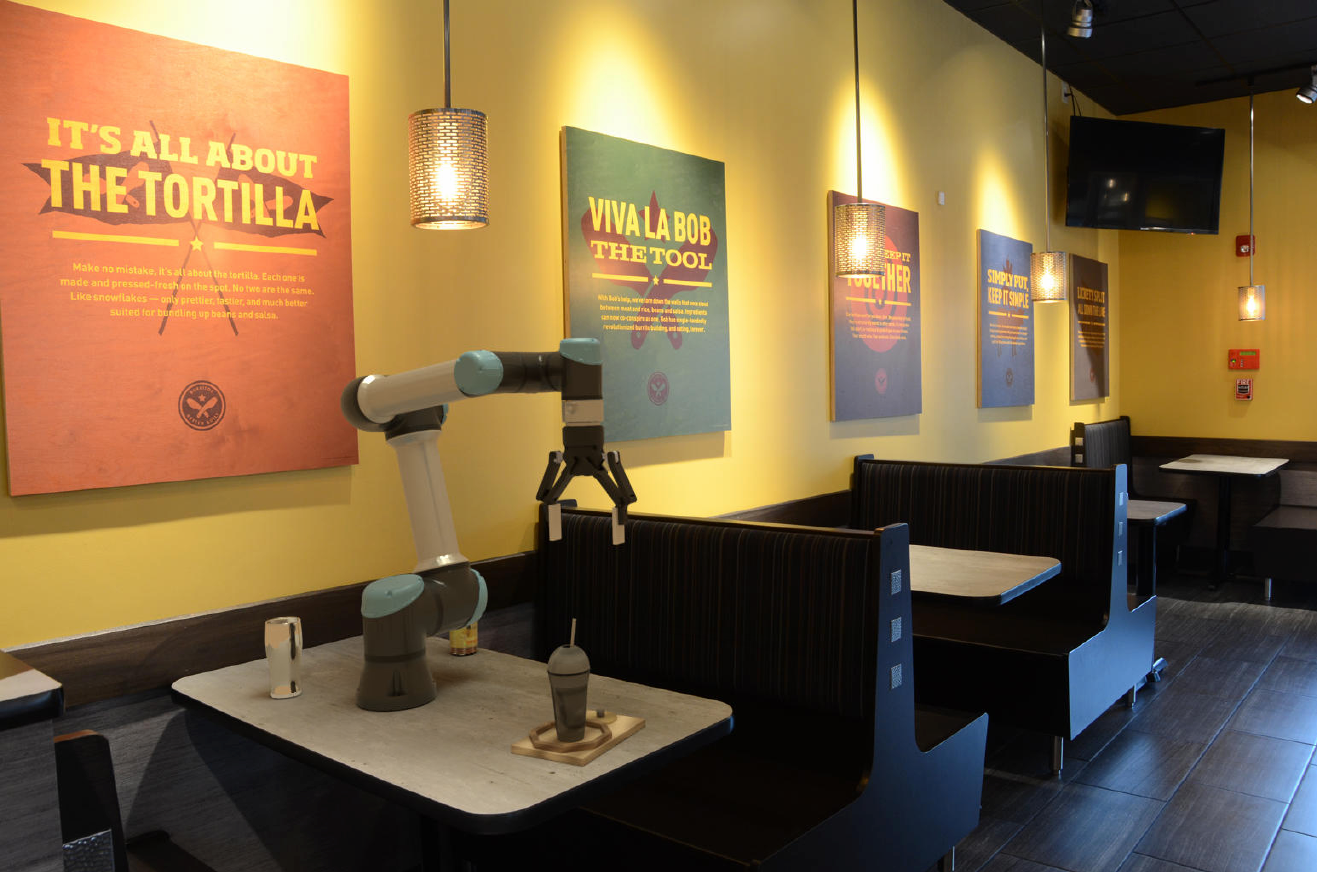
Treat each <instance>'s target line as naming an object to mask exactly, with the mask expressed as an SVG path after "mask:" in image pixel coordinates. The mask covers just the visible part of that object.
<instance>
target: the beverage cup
mask: <svg viewBox="0 0 1317 872" xmlns="http://www.w3.org/2000/svg"><path fill="white" fill-rule="evenodd" d="M576 621H577V619H576V618H572V626H571V633H570V634H571V636H570V637H571V638H570V644H564V645H561V646H559V647H557V648H556V649H555V650H554V651H553V652H552V653H551V655H550V656H549V660H548V662H547V669H546V673H547V676H548V677H547V678H548V683H549V685H550V691H551V700H552V707H553V717H554V721H555V726H556V732H557V739H558V740H559V741H561V742H566V743H572V742H578V741H580V740H582V739H584V733H585V725H586V710H587V706H588V705H587V703H588V702H587V701H588V685H589V684H588V683H589V681H590V672H591V666H590V665H591V664H590V660H589V658H588V656H587V654H586V652H585V650H583V649H582V648H580V647H579V646H577V645H575V634H576V624H577V623H576Z"/></svg>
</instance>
